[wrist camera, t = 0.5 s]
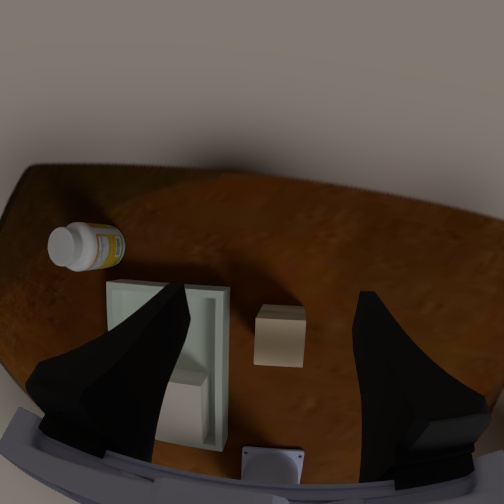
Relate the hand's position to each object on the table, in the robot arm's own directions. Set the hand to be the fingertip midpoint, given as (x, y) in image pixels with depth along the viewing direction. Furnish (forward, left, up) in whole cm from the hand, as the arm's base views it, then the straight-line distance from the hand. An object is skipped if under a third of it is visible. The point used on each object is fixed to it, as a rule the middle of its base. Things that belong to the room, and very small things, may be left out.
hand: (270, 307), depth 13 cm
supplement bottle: (+2, +22, -22) cm, 31 cm away
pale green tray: (-12, +13, -22) cm, 28 cm away
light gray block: (-17, +13, -21) cm, 30 cm away
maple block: (-6, 0, -22) cm, 23 cm away
